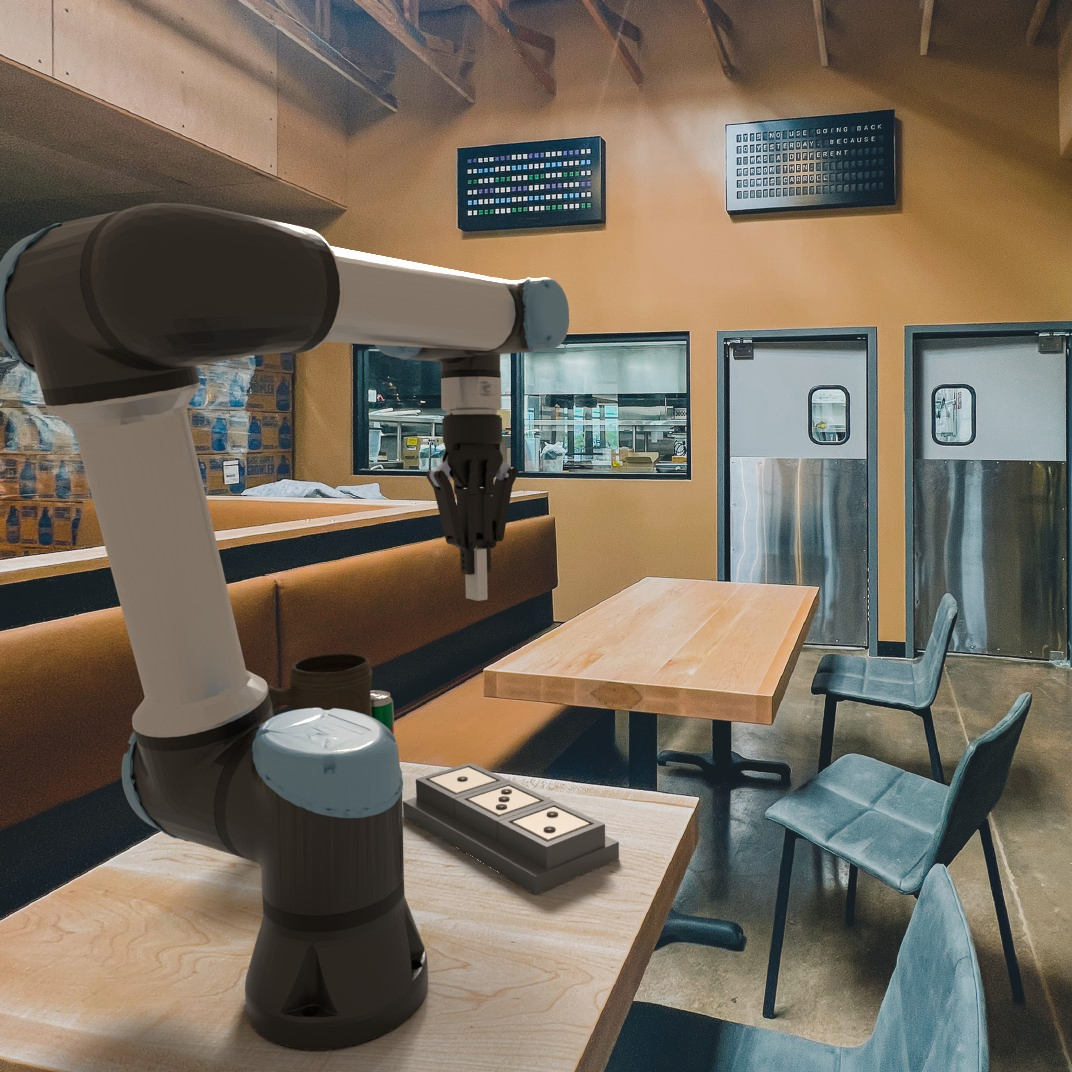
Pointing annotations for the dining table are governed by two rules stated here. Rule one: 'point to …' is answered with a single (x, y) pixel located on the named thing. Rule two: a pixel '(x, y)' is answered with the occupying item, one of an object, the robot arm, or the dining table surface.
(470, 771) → the tile one dot
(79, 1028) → the dining table surface
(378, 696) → the soda can
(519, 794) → the tile three dots
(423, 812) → the button panel
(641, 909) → the dining table surface
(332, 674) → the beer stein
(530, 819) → the tile two dots
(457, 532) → the robot arm
